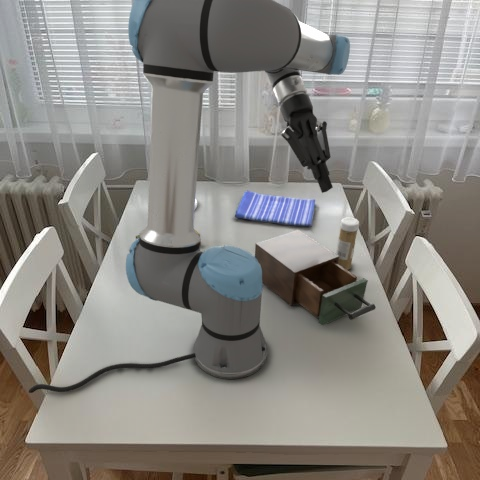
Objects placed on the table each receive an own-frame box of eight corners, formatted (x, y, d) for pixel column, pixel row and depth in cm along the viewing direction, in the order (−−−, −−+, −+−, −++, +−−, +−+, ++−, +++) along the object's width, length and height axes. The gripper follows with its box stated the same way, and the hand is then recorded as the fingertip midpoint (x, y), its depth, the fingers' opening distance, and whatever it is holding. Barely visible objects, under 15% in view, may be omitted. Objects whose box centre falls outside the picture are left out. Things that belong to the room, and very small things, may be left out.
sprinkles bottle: (354, 267, 131) (363, 222, 122) (341, 272, 129) (350, 226, 120) (342, 260, 134) (350, 215, 125) (330, 264, 132) (337, 219, 123)
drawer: (380, 321, 112) (387, 293, 107) (339, 340, 106) (345, 311, 101) (321, 278, 125) (325, 252, 120) (282, 293, 119) (284, 266, 114)
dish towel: (244, 196, 164) (245, 188, 162) (315, 204, 160) (316, 196, 158) (233, 220, 151) (233, 211, 149) (310, 229, 147) (311, 220, 145)
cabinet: (333, 289, 123) (339, 256, 117) (291, 306, 117) (294, 272, 111) (295, 261, 133) (298, 229, 127) (253, 275, 127) (255, 243, 121)
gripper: (279, 94, 114) (315, 189, 114) (322, 88, 120) (356, 178, 120) (265, 112, 121) (298, 201, 121) (306, 105, 127) (338, 190, 126)
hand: (327, 190), depth 120 cm, fingers closed
